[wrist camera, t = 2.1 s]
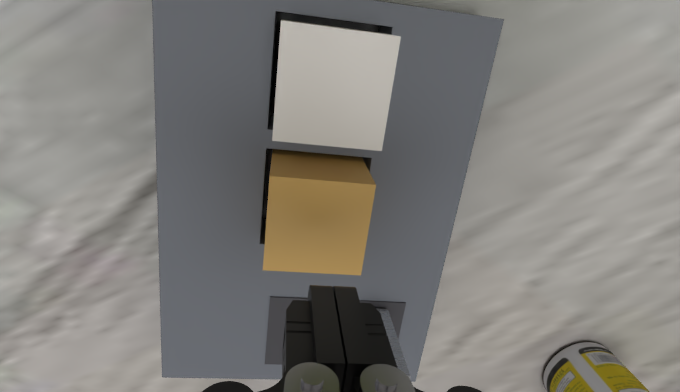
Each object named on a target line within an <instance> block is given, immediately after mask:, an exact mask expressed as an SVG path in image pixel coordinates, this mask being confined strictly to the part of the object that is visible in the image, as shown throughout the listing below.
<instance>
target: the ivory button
mask: <svg viewBox="0 0 680 392" xmlns="http://www.w3.org/2000/svg"><path fill="white" fill-rule="evenodd" d="M400 40H401V36H396V35H390V34H385V33H380V32H373V31H365V30H358V29H350V28H343V27H336V26H328V25H321V24H313V23H306V22H299V21H291V20H284V19H282V20H281V26H280V39H279V53H278V67H277V81H276V94H275V108H274V122H273V136H272V141H280V142H290V143H301V144H311V145H322V146H333V147H343V148H354V149H364V150H375V151H382V147H383V141H384V135H385V129H386V123H387V117H388V111H389V105H390V99H391V93H392V87H393V81H394V75H395V69H396V63H397V58H398V52H399V46H400Z"/></svg>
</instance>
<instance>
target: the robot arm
mask: <svg viewBox="0 0 680 392" xmlns="http://www.w3.org/2000/svg"><path fill="white" fill-rule="evenodd" d="M202 392H253V391H252V390H251V389H250V388H249V387H248V386H246V385H244V384H242V383H239V382H234V381H225V382H219V383H216V384H213V385H211V386H209V387H208V388H206V389H205V390H204V391H202ZM259 392H423V391H421V390H418V389H416V388H415V387H413V385H412V382H411V381H410V379H409V377H408V376H407V375H406V374H405V373H404V372H403V371H401V370H400V369H398V367H397V364H396V361H395V358H394V355H393V352H392V348H391V345H390V342H389V339H388V336H387V333H386V329H385V327H384V323H383V320H382V317H381V314H380V312H379V311H378V310H377V309H376V308H375V307H374V306H373V305H372V304H371V303H360V301H359V297H358V293H357V289H356V287H344V286H333V287H332V286H322V285H310V286H309V290H308V299H307V301H306V300H293V301H292V302H291V303H290V305H289V306H288V308H287V309H286V317H285V328H284V338H283V348H282V379H281V380H280V381H279V382H278V383H277V384H276V385H274V386H273V387H271V388H269V389H266V390H263V391H259ZM447 392H481V391H480V390H477V389H475V388H472V387H468V386H456V387H453V388H451V389H449V390H448V391H447Z"/></svg>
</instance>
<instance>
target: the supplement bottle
mask: <svg viewBox="0 0 680 392" xmlns="http://www.w3.org/2000/svg"><path fill="white" fill-rule="evenodd" d="M543 381H544V386H545V388H546V390H547V392H649V391H648V390H647V389H646V388H645V387H644V386H643V385H642V384H641V382H640V381H639V380H638V379H637V378H636V377H635V376H634V375H633V374H632V373H631V372H630V371H629V370H628V369H627V368H626V367H625V366H624V365H623V364H622V363H621V362H620V361H619V360H618V359H617V358H616V357H615V356H614V355H613V354H612V353H611V352H610V351H609V350H608V349H607V348H605V347H604V346H602V345H600V344H597V343H592V342H583V343H577V344H574V345H571V346H569V347H567V348H565V349H563V350H562V351H560V352H559V353H558V354H556V355H555V356H554V357H553V358H552V359H551V361H550V362H549V363H548V365H547V367H546V369H545V372H544V377H543Z"/></svg>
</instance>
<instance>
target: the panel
mask: <svg viewBox="0 0 680 392" xmlns="http://www.w3.org/2000/svg"><path fill="white" fill-rule="evenodd" d="M152 9H153V47H154V86H155V124H156V162H157V200H158V238H159V277H160V315H161V353H162V377H171V378H232V379H282V348H283V338H284V328H285V317H286V309H287V308H288V306H289V305H290V303H291V302H292V301H293V300H306V301H307V299H308V290H309V286H310V285H322V286H332V287H333V286H344V287H356V289H357V293H358V297H359V301H360V303H371V304H372V305H373V306H374V307H375V308H376V309H388V311H389V314H390V317H391V320H392V323H393V326H394V329H395V332H396V335H397V338H398V341H399V343H400V346H401V349H402V352H403V355H404V358H405V361H406V364H407V367H408V370H409V373H410V376H411V377H410V381H414V382H415V380H416V376H417V372H418V368H419V364H420V360H421V356H422V352H423V348H424V344H425V340H426V336H427V331H428V327H429V323H430V319H431V315H432V311H433V307H434V303H435V299H436V295H437V291H438V286H439V282H440V278H441V274H442V270H443V266H444V262H445V258H446V254H447V250H448V246H449V241H450V237H451V233H452V229H453V225H454V221H455V217H456V213H457V209H458V205H459V201H460V197H461V192H462V188H463V184H464V180H465V176H466V172H467V168H468V164H469V160H470V156H471V152H472V147H473V143H474V139H475V135H476V131H477V127H478V123H479V119H480V115H481V111H482V107H483V102H484V98H485V94H486V90H487V86H488V82H489V78H490V74H491V70H492V66H493V62H494V58H495V53H496V49H497V45H498V41H499V37H500V33H501V29H502V25H503V21H504V19H499V18H492V17H485V16H478V15H471V14H464V13H457V12H451V11H444V10H437V9H430V8H423V7H416V6H409V5H403V4H396V3H389V2H382V1H375V0H152ZM277 11H278V12H285V13H292V14H299V15H307V16H314V17H321V18H329V19H336V20H343V21H350V22H358V23H365V24H372V25H379V26H380V28H379V32H380V33H385V34H390V35H396V36H401V40H400V46H399V52H398V58H397V63H396V69H395V75H394V81H393V87H392V93H391V99H390V105H389V111H388V117H387V123H386V129H385V135H384V141H383V147H382V151H375V150H364V149H354V148H343V147H333V146H322V145H311V144H301V143H290V142H280V141H272V136H273V122H274V116H270V107H271V93H272V78H273V64H274V49H275V35H276V21H277ZM268 148H270V149H281V150H292V151H303V152H314V153H324V154H335V155H346V156H357V157H362V158H363V160H364V162H365V164H366V166H367V168H368V170H369V172H370V174H371V176H372V178H373V180H374V182H375V184H376V189H375V195H374V201H373V207H372V213H371V219H370V225H369V231H368V237H367V243H366V249H365V254H364V260H363V266H362V272H361V275H343V274H323V273H304V272H285V271H266V270H263V259H264V246H265V232H266V219H263V208H264V194H265V179H266V165H267V150H268Z"/></svg>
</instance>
